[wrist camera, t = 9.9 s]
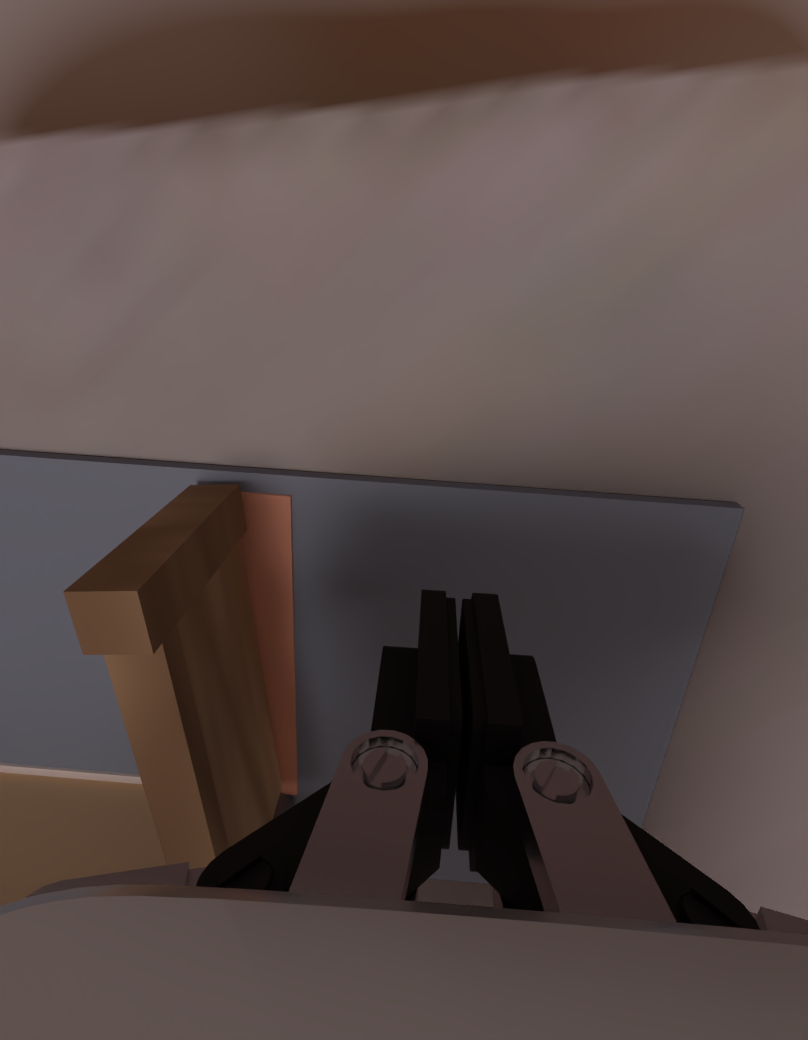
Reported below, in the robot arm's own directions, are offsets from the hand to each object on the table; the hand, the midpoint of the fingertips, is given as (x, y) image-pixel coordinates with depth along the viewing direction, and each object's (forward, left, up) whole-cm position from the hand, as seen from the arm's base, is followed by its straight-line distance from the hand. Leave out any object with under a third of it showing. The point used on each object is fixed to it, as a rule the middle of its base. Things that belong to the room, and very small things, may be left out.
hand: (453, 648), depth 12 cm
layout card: (-1, +6, -3) cm, 7 cm away
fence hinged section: (+1, +6, -2) cm, 6 cm away
